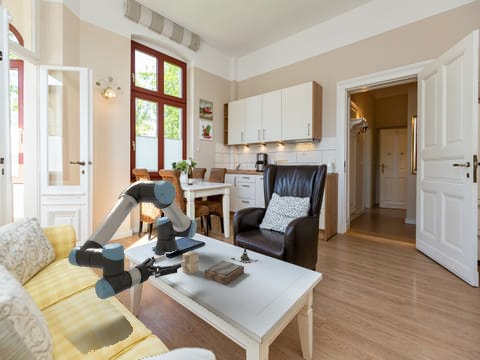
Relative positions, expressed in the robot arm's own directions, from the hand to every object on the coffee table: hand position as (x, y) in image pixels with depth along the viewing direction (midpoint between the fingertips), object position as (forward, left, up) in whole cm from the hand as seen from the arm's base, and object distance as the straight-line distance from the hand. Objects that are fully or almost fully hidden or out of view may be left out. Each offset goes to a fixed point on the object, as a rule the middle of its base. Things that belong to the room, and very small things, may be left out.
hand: (174, 259), depth 118 cm
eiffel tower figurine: (+15, +42, -11) cm, 46 cm away
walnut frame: (+18, +18, -10) cm, 27 cm away
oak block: (0, +11, -10) cm, 15 cm away
